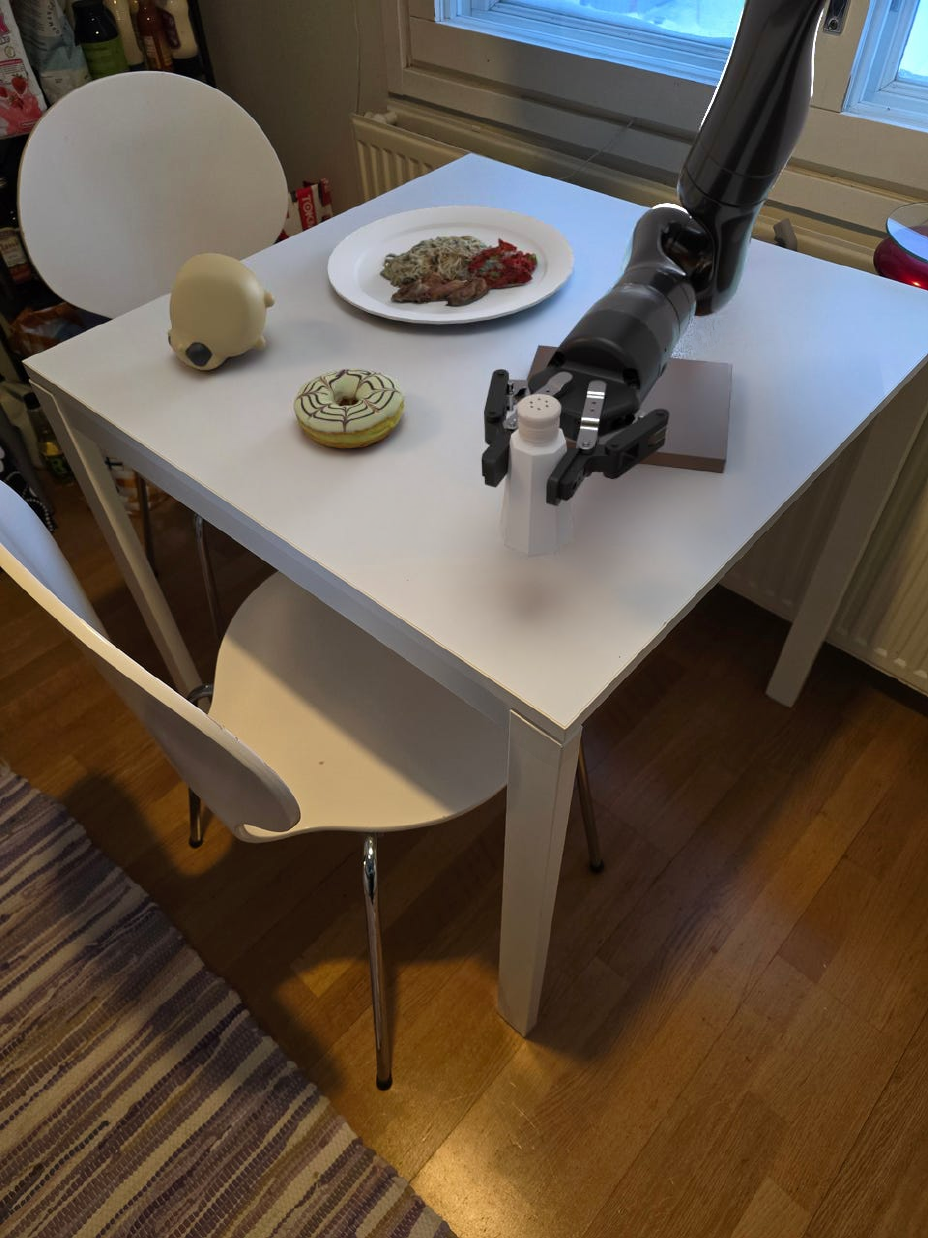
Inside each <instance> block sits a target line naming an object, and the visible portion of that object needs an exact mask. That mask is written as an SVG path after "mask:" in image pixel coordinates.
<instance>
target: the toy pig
mask: <svg viewBox="0 0 928 1238" xmlns="http://www.w3.org/2000/svg"><path fill="white" fill-rule="evenodd" d="M275 303H276V299H275V297H274V295H273V294H272V293H270V292H269V291H267V290H266V289H264V288H263V286H262V284H261V281H260V280H259V279H258V277H257V275H255V272H253V271H252V270H251V268H249V267H248V266H247V265H245V264H244V263H242V261H239V260H238V259H236V258H233V257H231V256H228V255H225V254H221V253H214V252H213V253H211V252H207V253H201V254H200V253H199V254H197V255H194V256H192V257H190V258H189V259H188V260H187V261H186V262H185V263H184V264H183V265H182V266H181V268H180V269H179V271H178V272H177V275H176V277H175V279H174V282H173V285H172V289H171V293H170V298H169V310H168V311H169V319H170V323H171V324H170V325H171V329H169V330H168V331H167V335H168V336H167V341H168V344H169V345H170V347H171V348H172V351H173V353H174V354H175V355H176V357H177V358H178V359H179V360H181V361H182V362H183V363H184V364H186V365H187V366H190V367H191V368H194V369H197V370H199V371H200V370H201V371H210V370H214V369H216V368H218V367H219V366H221V365H222V364H223V363H224V362H225V361H226V360H227V359H228V358H232V357H237V356H240V355H242V354H245V353H246V352H248V351H250V350H251V349H255V350H257V351H259V350H263V349H264V348H265V346H266V340H265V338H264V335H263V330H264V327H265V324H266V320H267V312H268V311H267V309H268V308H271V307H273V306H274V305H275Z"/></svg>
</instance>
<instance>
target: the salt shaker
mask: <svg viewBox="0 0 928 1238" xmlns="http://www.w3.org/2000/svg"><path fill="white" fill-rule="evenodd" d="M516 409H517V413H518V427H519V429H517V430H516V431H515V432H514V433H513V434H511V438H510V445H509V459H508V473H507V474H506V475H505V480H504V491H503V498H502V506H501V516H500V524H499V527H500V530H501V535H502V541H503V545H504V547H506V548H508V549H510V550H512V551H515V552H516V553H518V554H521V555H523V556H524V557H527V558H536V557H537V558H538V557H545V556H553V555H557V554H558V553H559V552H560V551H561V550H562V549H563V548H564V547H565V546H566V545H567V544H568V543H569V542H570V541H571V540H572V539H573V538H574V529H573V527H574V526H573V514H572V513H573V512H572V498H571V499H569V500H568V501H564V500H561V502H560V503H559V505H558V506H554V505H551V504H547V503H546V486H547V481H548V478H549V476H550V475H551V473H552V472H553V470H554V469H555V467H556V466H557V465H558V463H559V462H560V460H561V459H562V457H563V456H564V455H565V453H566V452H567V446H566V440H565V437H564V434H563V431H562V429H560V428H559V422H560V417H559V416H560V413H561V405H560V403H559V402H558V400H557V399H555V398H554V397H552V396H549V395H545V394H534V395H530V396H527V397H525V398H523V399H522V400H521V401H520V402H518V404H516Z"/></svg>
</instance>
